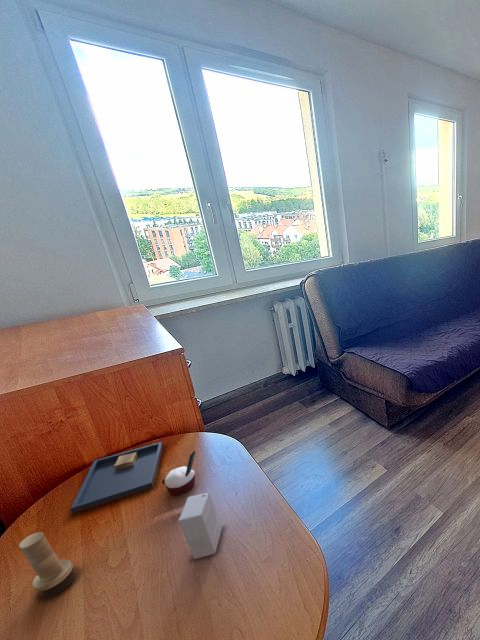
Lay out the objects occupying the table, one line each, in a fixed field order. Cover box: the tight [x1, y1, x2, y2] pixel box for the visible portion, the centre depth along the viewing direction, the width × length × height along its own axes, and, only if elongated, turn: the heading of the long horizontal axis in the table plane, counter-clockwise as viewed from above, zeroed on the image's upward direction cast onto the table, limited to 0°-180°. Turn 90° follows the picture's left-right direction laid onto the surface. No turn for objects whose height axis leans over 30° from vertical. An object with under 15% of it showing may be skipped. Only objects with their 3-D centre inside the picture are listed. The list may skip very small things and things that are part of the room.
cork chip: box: [114, 452, 138, 470], centre depth 95 cm, size 4×4×2 cm
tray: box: [70, 441, 164, 514], centre depth 91 cm, size 16×18×2 cm
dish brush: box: [18, 531, 78, 599], centre depth 64 cm, size 5×5×13 cm
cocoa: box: [161, 450, 196, 496], centre depth 85 cm, size 10×6×12 cm, turn 70°
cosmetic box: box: [178, 491, 223, 560], centre depth 72 cm, size 6×4×12 cm
